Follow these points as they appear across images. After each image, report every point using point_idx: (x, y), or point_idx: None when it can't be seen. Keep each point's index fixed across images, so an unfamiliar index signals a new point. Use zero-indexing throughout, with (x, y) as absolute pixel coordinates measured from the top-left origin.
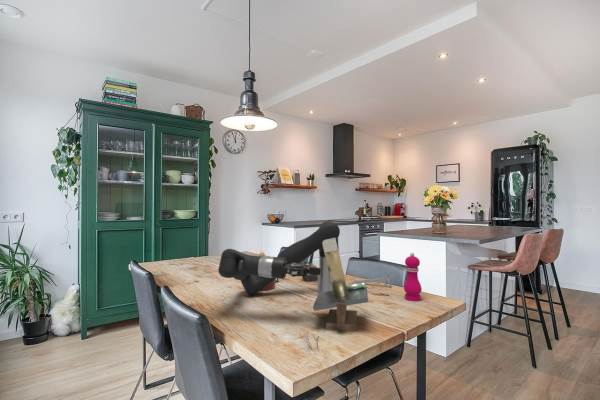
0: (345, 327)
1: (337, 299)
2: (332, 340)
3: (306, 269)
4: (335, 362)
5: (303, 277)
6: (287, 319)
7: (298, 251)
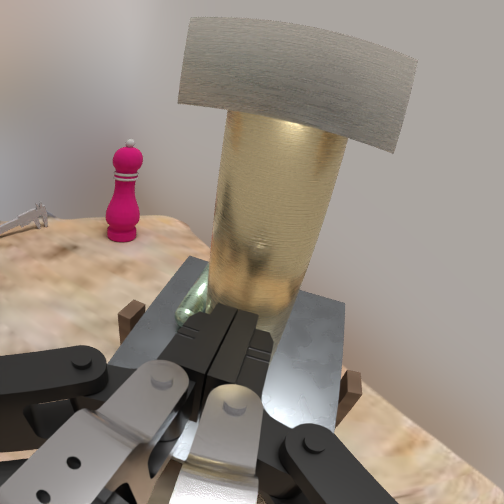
0: None
1: (296, 382)
2: (362, 464)
3: (330, 440)
4: (450, 452)
5: None
6: None
7: None
